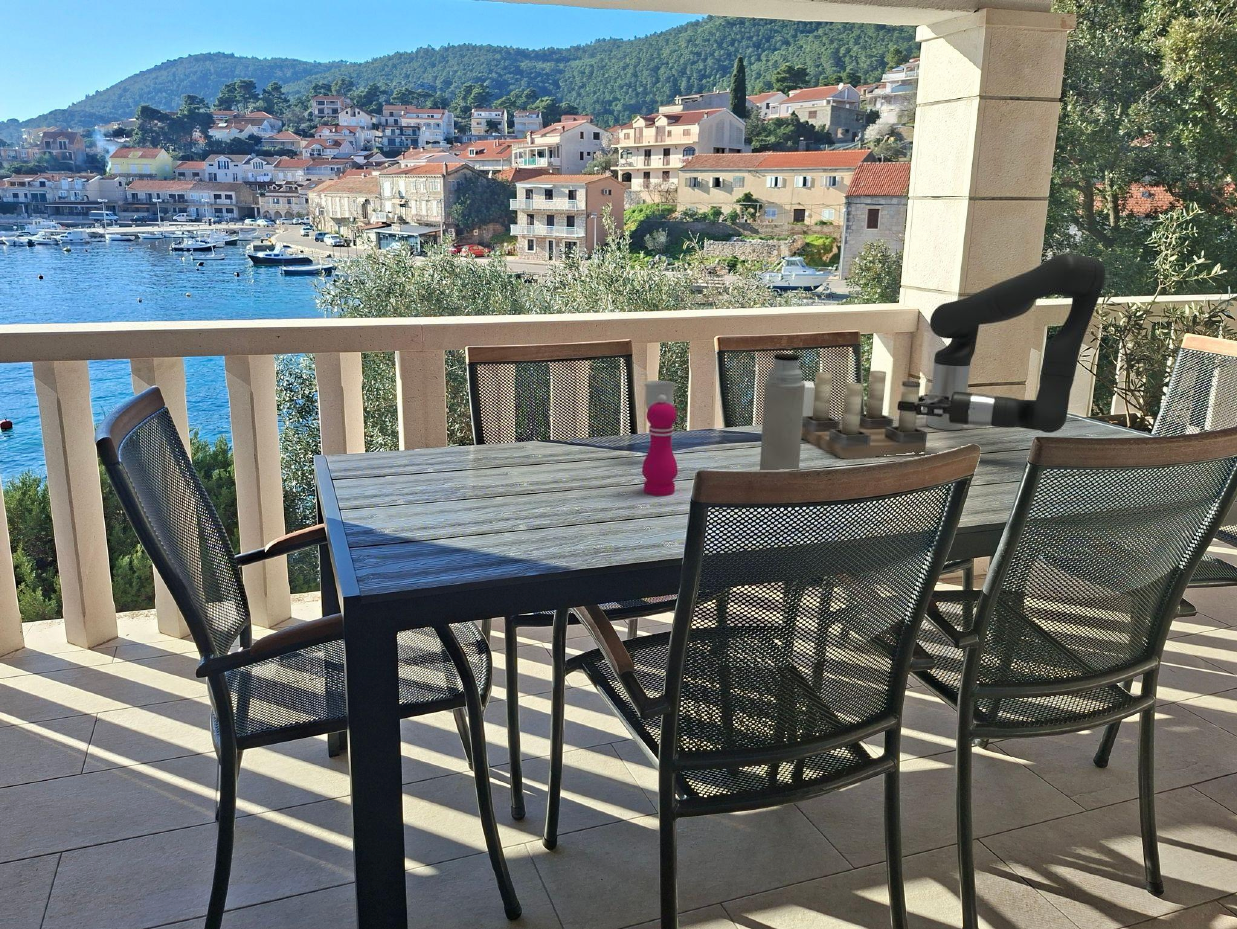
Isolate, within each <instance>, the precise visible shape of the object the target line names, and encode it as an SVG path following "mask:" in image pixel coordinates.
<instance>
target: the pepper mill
mask: <svg viewBox="0 0 1237 929" xmlns="http://www.w3.org/2000/svg"><path fill="white" fill-rule="evenodd" d="M666 400H667V398H666V396H665V395H660V396H659V397H658V403H654V404H652V405H651V406H650V407H649V409H648V410H647V411H646V420H647V422H648V424H649V426H648V434H649V435H650V444H649V450H648V451H647V454H646V456H645V458H644V459H643V460H644V461H643V464H642V468H641V473H642V476H643V477H644V478H645V481H644V482H643V491H644V492H645V493H646V494H648V495H652V496H660V497H661V496H670V495H672V494H674V493H675V491H676V490H675V489H676V488H675V486H676V485H675V484H676V483H675V482H674V480H675V479H676V477H677V476H678V473H679V472H678V463H677V460H676V457H675V455H674V452H673V447H672V436H673V435H674V426H673V425H674V424H675V422H676V421H677V416H678V415H677V410H676V409H675V406H674V405H673V406H672V405H671V404H669V403H665V402H666Z"/></svg>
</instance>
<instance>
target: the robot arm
mask: <svg viewBox="0 0 1237 929" xmlns="http://www.w3.org/2000/svg"><path fill="white" fill-rule="evenodd" d="M1105 278H1106V267H1105V264H1104V262H1103V261H1101V259H1099V258H1097V257H1093V256H1088V255H1083V254H1077V253H1074V252H1073V253H1072V252H1071V253H1070V252H1069V253H1067V252H1065V253H1061V254H1057V255H1056V256H1052V258H1050V259H1048V260H1046V261H1045V262H1043V263H1041V264H1039V265H1038V266H1036V267H1034V268H1033V269H1031V270H1028V271H1025V272H1024V273H1020V274H1019V275H1016V276H1014V277H1011V278H1009V279H1005V280H1003V281H1001V282H998V283H996V284H993V285H991V286H990V287H987V288H985V289H984V288H983V289H982V290H980V291H978V292H975V293H973V294H971V295H969V296H967V297H965V298H961V299H958V300H957V299H956V300H954V301H949V302H945V303H942V304H939V305H938V306H937V307H936V308H935V309H934V310H933V312H932V313H931V316H930V321H929V326H930V329H931V331H932V332H933V334H934V335H936V336H937V337H939V338H942V339H951V341H950V343H949V344H948V345H946V346H945V347H944V348H942V349H939V350H937V351H936V352H935V354H934V360H933V369H932V370H933V371H932V378H931V387H930V389H929V391H928V393H926V394H922V395H919V399H918V402H909V401H901V400H899V401H898V402H897V411H899V412H900V411H910V412H914V413H916V415H917V416H925V417H926V419H925V423H926V424H927V426H928V427H930V428H933V429H937V430H945V431H946V430H947V431H956V430H957V431H958V430H962V429H963V428H964V425H965V426H973V427H996V428H1004V429H1005V428H1008V429H1014V428H1021V429H1027V430H1033V431H1034V430H1036V431H1041V432H1044V433H1048V434H1049V433H1050V434H1051V433H1055V432H1058V431H1059V430H1061V429H1062V428H1063V427H1064V426H1065V424H1066V421H1067V417H1068V411H1069V404H1070V397H1071V396H1070V395H1071V391H1072V390H1071V389H1072V387H1073V384H1074V380H1075V375H1076V371H1077V365H1078V361H1079V355H1080V352H1081V348H1082V344H1083V341H1084V339H1085V335H1086V334H1087V330H1088V327H1089V325H1090V322H1091V321H1092V317H1093V315H1094V312H1095V309H1096V307H1097V304H1098V301H1099V298H1100V296H1101V293H1102V290H1103V287H1104V284H1105V280H1106V279H1105ZM1049 296H1063V297H1068V298H1072V300H1071V306H1070V311H1069V313H1068V315H1067V317H1066V320H1065V321H1064V322H1063V324H1062V325H1061V327H1060V328H1059V330H1057V333H1055V335H1054V336H1053V337H1052V339H1051V340H1050V342H1049V343H1048V345H1047V347H1046V349H1045V352H1044V355H1043V359H1042V364H1041V369H1040V374H1039V381H1038V382H1039V384H1038V385H1039V387H1038V391H1037V395H1036V398H1035V399H1019V398H1014V397H1010V396H1009V397H1008V396H997V395H991V394H986V393H985V394H984V393H977V392H976V393H975V392H968V387H969V379H970V370H971V362H972V359H973V356H974V355H975V352H976V345H977V340H978V334H979V329H980V328H979V327H980V325H989V324H996V323H1002V322H1006V321H1010V320H1012V319H1014V318H1015V319H1016V318H1018V317H1020V316H1023V315H1024V314H1026V313H1027V312H1029V311H1030V310H1031V309H1032V307H1033V306H1034V305H1035V302H1036V300H1038V299H1041V298H1045V297H1049Z"/></svg>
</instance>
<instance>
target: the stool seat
mask: <svg viewBox="0 0 1237 929" xmlns="http://www.w3.org/2000/svg"><path fill="white" fill-rule="evenodd" d="M868 376H869V378H868V387H867V388H868V389H867V398H866V399H867V400H866V412H865V413H861V412H862V402H863V401H862V400H863V389H864V388H863V387H864V384H863V383H859V382H846V383H845V384H844V396H843V397H844V398H843V409H842V418H841V419H842V420H841V421H840V420H838V419H836V418H833V417H832V416H830V408H831V407H830V406H831V397H832V396H831V395H832V382H833V381H832V380H833V373H831V372H824V371H823V372H822V371H818V372H815V381H814V386H815V392H814V405H813V416H803V419H802V434H801V440H805V441H806V442H807V443H808V442H809V443H810V444H812V445H813V446H816V447H818V448H819V449H820V450H821V449H822V450H823V451H825V452H827V453H829V454H832V455H833V456H835V455H836V456H835V457H837V458H839V457H840V458H839V459H841V458H855V457H873V458H875V457H874V456H884V455H886V456H887V455H896V454H906V453H912V452H914V453H915V454H919V453H921V452H925V454H926V445H927V438H928V432H927V431H925V430H922V429H921V428H920V429H919V428H917V427H916V428H915V432H907V433H902V432H899V431H898V426H896V425H895V426H894V418H892V417H889V416H887V415H885V414H883V410H884V402H885V401H884V400H885V399H884V398H885V388H886V379H887V378H886V377H887V371H883V370H870V371H869V375H868ZM925 454H924V455H925ZM924 455H923V456H924ZM855 459H856V458H855Z"/></svg>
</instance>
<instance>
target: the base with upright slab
mask: <svg viewBox="0 0 1237 929" xmlns="http://www.w3.org/2000/svg"><path fill="white" fill-rule="evenodd" d="M802 382H804V383H805V391H804V405H803V416H813V405H814V392H815V382H814V381H810V380H809V381H808V380H807V381H806V380H804V381H803V380H802Z"/></svg>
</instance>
